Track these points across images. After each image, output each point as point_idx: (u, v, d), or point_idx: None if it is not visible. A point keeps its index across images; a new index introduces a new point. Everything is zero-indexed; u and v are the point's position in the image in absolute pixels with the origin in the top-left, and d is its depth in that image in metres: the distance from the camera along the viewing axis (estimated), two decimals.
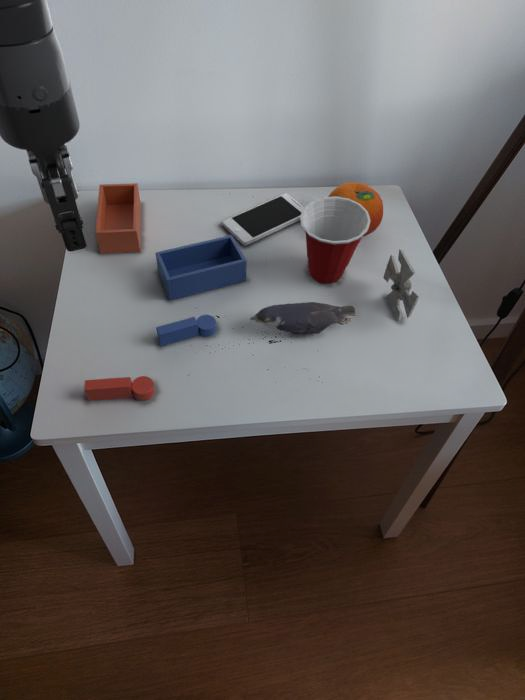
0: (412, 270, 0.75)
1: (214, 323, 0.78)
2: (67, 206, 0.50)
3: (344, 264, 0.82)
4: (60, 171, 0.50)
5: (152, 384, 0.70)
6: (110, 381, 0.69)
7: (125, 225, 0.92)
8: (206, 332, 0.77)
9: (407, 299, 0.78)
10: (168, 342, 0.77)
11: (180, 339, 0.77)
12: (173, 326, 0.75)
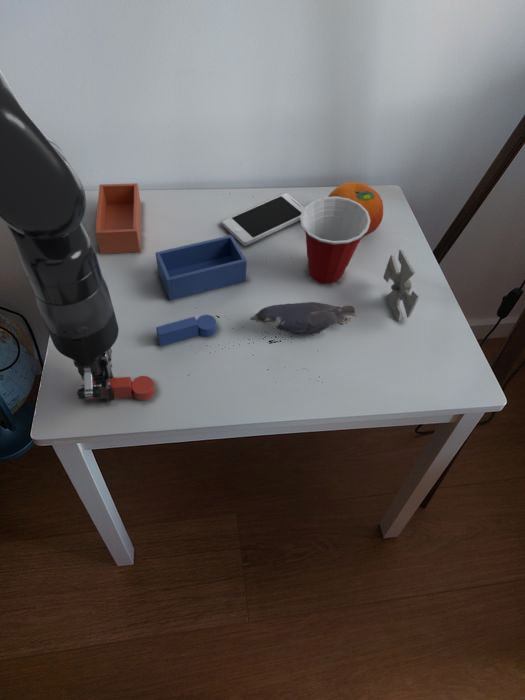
0: (412, 270, 0.75)
1: (214, 323, 0.78)
2: None
3: (344, 264, 0.82)
4: (94, 375, 0.60)
5: (152, 384, 0.70)
6: (110, 381, 0.69)
7: (125, 225, 0.92)
8: (206, 332, 0.77)
9: (407, 299, 0.78)
10: (168, 342, 0.77)
11: (180, 339, 0.77)
12: (173, 326, 0.75)
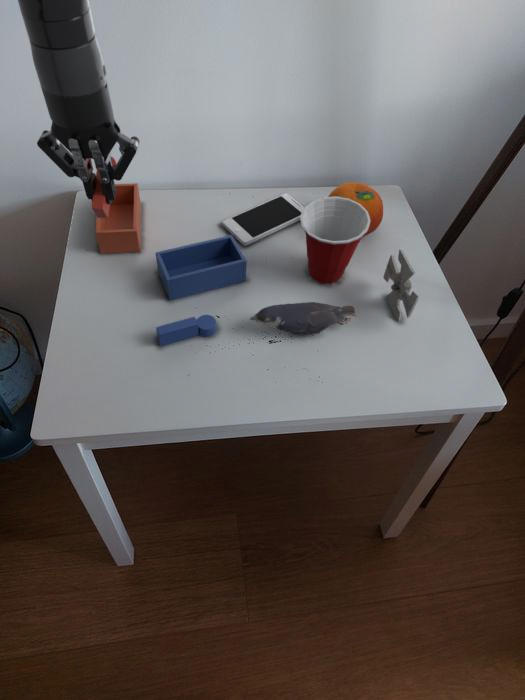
0: (412, 270, 0.75)
1: (214, 323, 0.78)
2: None
3: (344, 264, 0.82)
4: None
5: None
6: (98, 186, 0.72)
7: (125, 225, 0.92)
8: (206, 332, 0.77)
9: (407, 299, 0.78)
10: (168, 342, 0.77)
11: (180, 339, 0.77)
12: (173, 326, 0.75)
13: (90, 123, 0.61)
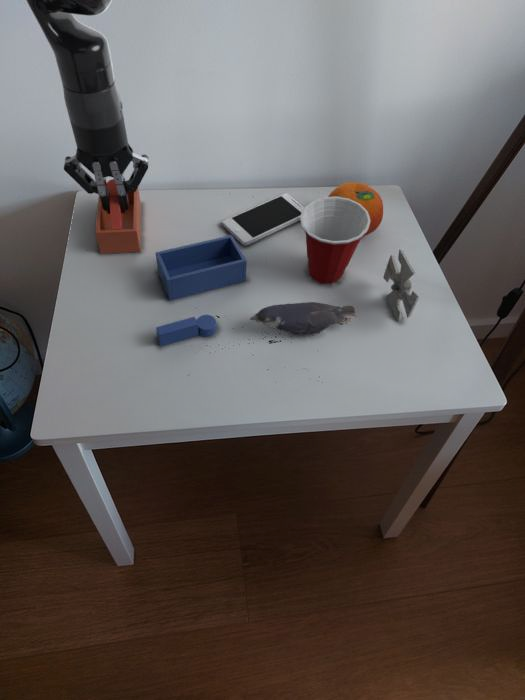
0: (412, 270, 0.75)
1: (214, 323, 0.78)
2: None
3: (344, 264, 0.82)
4: None
5: None
6: (113, 209, 0.85)
7: (125, 225, 0.92)
8: (206, 332, 0.77)
9: (407, 299, 0.78)
10: (168, 342, 0.77)
11: (180, 339, 0.77)
12: (173, 326, 0.75)
13: (113, 148, 0.75)
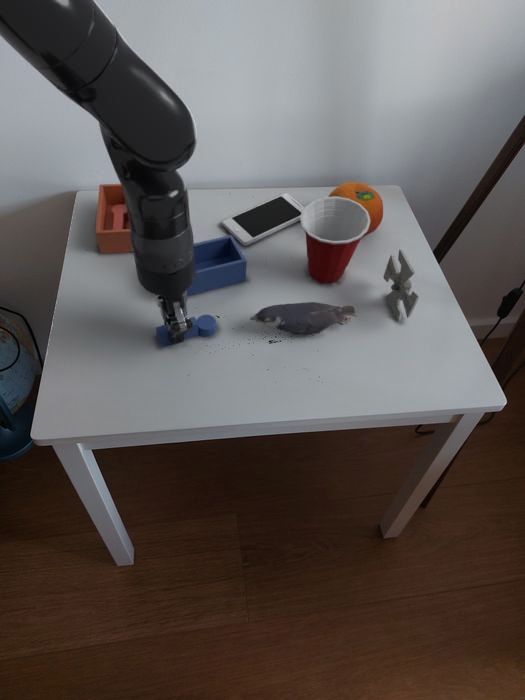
0: (412, 270, 0.75)
1: (214, 323, 0.78)
2: (184, 332, 0.69)
3: (344, 264, 0.82)
4: (182, 309, 0.67)
5: (120, 204, 0.92)
6: (116, 219, 0.88)
7: None
8: (206, 332, 0.77)
9: (407, 299, 0.78)
10: (168, 342, 0.77)
11: None
12: None
13: (146, 287, 0.64)
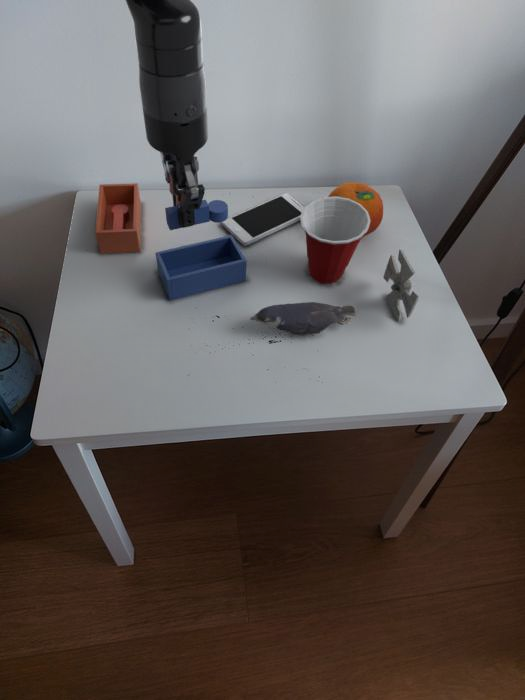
0: (412, 270, 0.75)
1: (226, 207, 0.74)
2: (195, 202, 0.66)
3: (344, 264, 0.82)
4: (193, 174, 0.64)
5: (120, 204, 0.92)
6: (116, 219, 0.88)
7: None
8: (217, 216, 0.74)
9: (407, 299, 0.78)
10: (178, 226, 0.73)
11: None
12: None
13: (156, 145, 0.61)
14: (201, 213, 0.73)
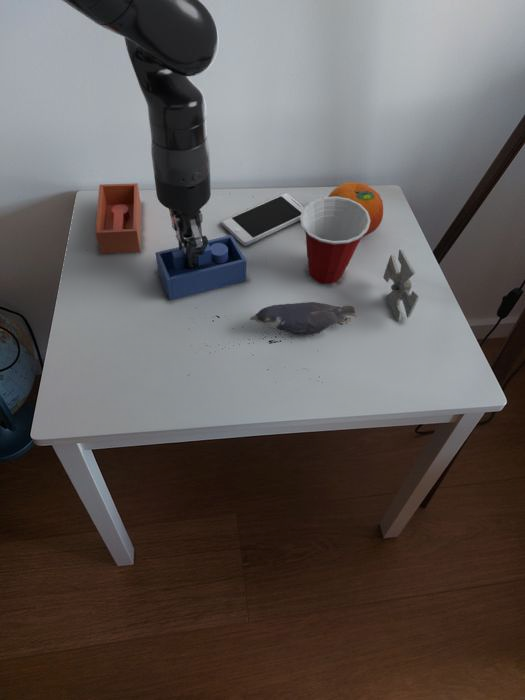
0: (412, 270, 0.75)
1: (226, 250, 0.82)
2: (199, 250, 0.74)
3: (344, 264, 0.82)
4: (198, 227, 0.72)
5: (120, 204, 0.92)
6: (116, 219, 0.88)
7: None
8: (219, 258, 0.82)
9: (407, 299, 0.78)
10: (183, 267, 0.81)
11: None
12: None
13: (165, 203, 0.69)
14: (204, 256, 0.81)
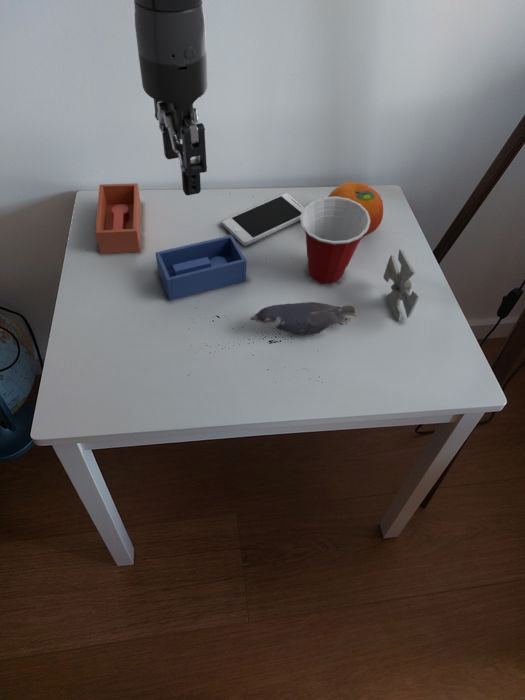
0: (412, 270, 0.75)
1: (225, 263, 0.85)
2: (198, 151, 0.60)
3: (344, 264, 0.82)
4: None
5: (120, 204, 0.92)
6: (116, 219, 0.88)
7: None
8: None
9: (407, 299, 0.78)
10: None
11: None
12: (188, 264, 0.83)
13: (152, 92, 0.57)
14: None
